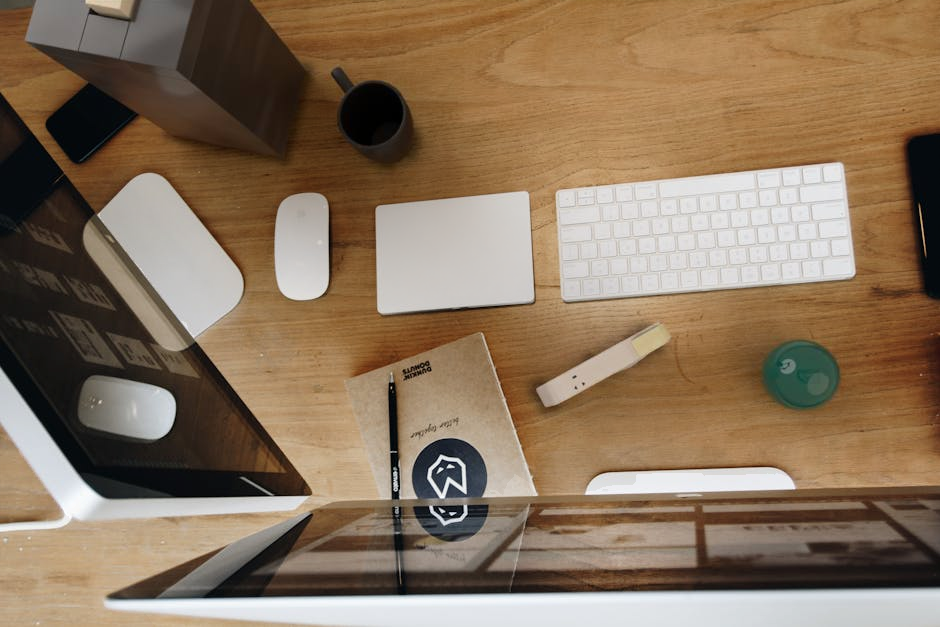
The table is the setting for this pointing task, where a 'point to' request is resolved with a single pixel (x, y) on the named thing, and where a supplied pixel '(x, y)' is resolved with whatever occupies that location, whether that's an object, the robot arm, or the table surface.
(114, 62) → the piano
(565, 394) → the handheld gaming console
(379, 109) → the mug
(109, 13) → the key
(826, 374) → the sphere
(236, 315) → the table surface
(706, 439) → the table surface
